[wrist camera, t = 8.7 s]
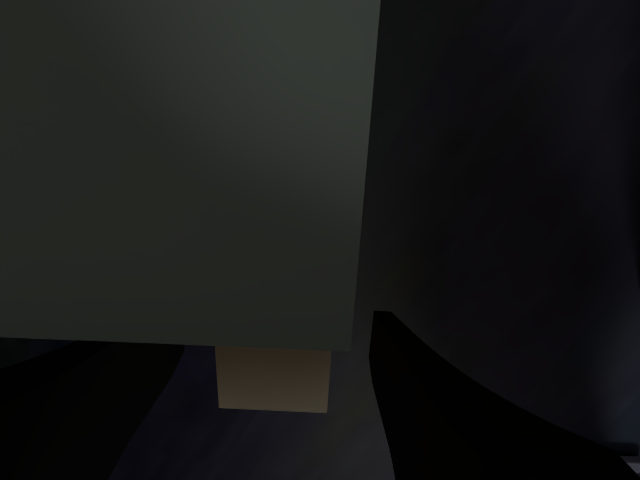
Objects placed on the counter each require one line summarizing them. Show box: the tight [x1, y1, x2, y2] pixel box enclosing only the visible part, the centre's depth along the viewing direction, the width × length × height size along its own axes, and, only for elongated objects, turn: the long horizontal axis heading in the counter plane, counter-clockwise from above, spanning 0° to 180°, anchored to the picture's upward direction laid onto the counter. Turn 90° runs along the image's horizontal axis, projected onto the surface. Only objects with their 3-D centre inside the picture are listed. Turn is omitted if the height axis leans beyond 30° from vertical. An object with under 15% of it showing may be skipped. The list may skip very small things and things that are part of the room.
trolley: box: [0, 0, 381, 351], centre depth 7 cm, size 10×16×8 cm, turn 88°
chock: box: [215, 346, 331, 413], centre depth 12 cm, size 6×4×4 cm, turn 177°
